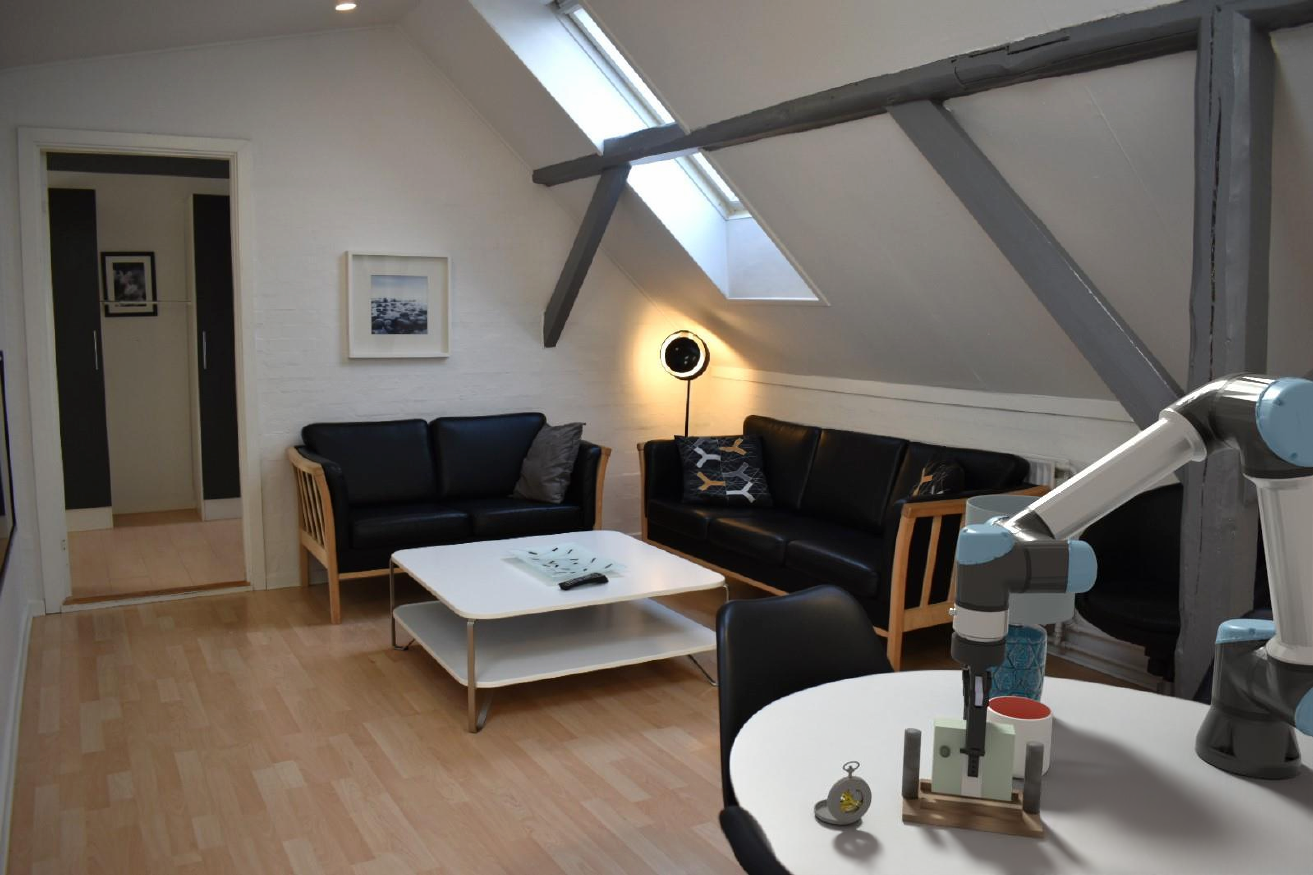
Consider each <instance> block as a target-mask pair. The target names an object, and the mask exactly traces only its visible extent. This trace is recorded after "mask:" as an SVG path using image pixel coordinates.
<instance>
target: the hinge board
mask: <svg viewBox="0 0 1313 875" xmlns="http://www.w3.org/2000/svg"><path fill="white" fill-rule="evenodd" d="M903 736H904V738H903V739H904V740H903V756H902V757H903V758H902V776H901V777H902V780H901V782H902V783H901V796H902V807H901V809H902V815H901V816H902V817H901V821H902V822H909V823H910V822H911V823H917V824H918V823H919V824H928V825H934V826H942V827H951V828H958V829H965V830H974V831H975V830H976V831H982V832H991V833H998V834H1006V835H1012V836H1013V835H1015V836H1022V837H1031V838H1037V839H1043V836H1044V834H1043V833H1044V831H1043V826H1042V822H1041V817H1040V811H1041V798H1042V797H1041V796H1042V795H1041V794H1042V783H1043V782H1042V780H1043V775H1042V769H1043V754H1044V745H1043V744H1042V743H1040V742H1037V741H1028V742H1027V743H1026V756H1025V771H1024V779H1023V788H1022V790H1023V791H1022V790H1018V789H1013V788H1012V793H1011V801H1006V800H997V799H989V798H979V797H971V796H963V795H956V794H947V793H939V792H932V785H931V779H928V778H920V767H921V766H920V765H921V751H922V750H921V746H922V730H920V729H918V728H913V727H910V728H905V729H904V735H903Z"/></svg>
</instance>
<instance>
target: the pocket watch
mask: <svg viewBox="0 0 1313 875" xmlns="http://www.w3.org/2000/svg"><path fill="white" fill-rule="evenodd" d="M853 763H855V764H857V766H856V767H853V766H852V765H849V764H853ZM847 765H848V768H845V767H847ZM860 766H861V765H860V762H858V761H856V760H851V761H848V762H846V763H844V765H843V766H842V770H843V771H846V772H847V775H846V776H844V777H842V778H840V779H839V780H837V781H836V782H835V783H833V785H832V787H831V788H830V789H829V791H828V795H827V798H826V799H822V800H819V801H817V802H816V803H815V804H814V806H813V813H814V815H815V816H816V817H817V818H818V819H820V820H821V821H822V822H823V821H824V822H826V823H828V824H832V825H841V826H842V825H849V824H854V823H855V822H856V821H859V820H860V819H862V817H864V816H865V815H866V813H867V812H868V810H869V809H870V807H871V804H872V799H873V797H872V796H873V795H872V794H873V793H872V790H871V788H870V786H869V783H867V781H866V780H865V779H863V778H862V777H861V776H857V775H853V773H854V772H855V771H856V770H857V769H858V768H859V767H860Z"/></svg>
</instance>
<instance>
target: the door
mask: <svg viewBox="0 0 1313 875" xmlns="http://www.w3.org/2000/svg"><path fill="white" fill-rule="evenodd" d="M933 727H934V729H933V744H932V762H931V779H930V780H931V785H932V792H939V793H947V794H956V795H961V784H962V767H963V754H962V753H960V748H965V739H966V720H963V719H960V718H959V719H958V718H949V717H941V716H934V724H933ZM1014 746H1015V731H1014V727H1013V725H1008V724H999V723H989V722H986V735H985V756H984V757H983V769H982V785H981V798H989V799H997V800H1006V801H1011V793H1012V789H1013V778H1014V777H1013V762H1014Z"/></svg>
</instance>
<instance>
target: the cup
mask: <svg viewBox="0 0 1313 875" xmlns="http://www.w3.org/2000/svg"><path fill="white" fill-rule="evenodd" d="M1053 716H1054V713H1053V710H1052V708H1051V707H1049V706H1048V705H1046V704H1045V703H1043V702H1041V701H1040V702H1038V701H1035V700H1032V699H1028V698H1023V697H1014V696H1002V697H996V698H992V699H990V700H989V707H988V708H987V720H986V722H989V723H999V724H1008V725H1013V727H1014V731H1015V746H1014V762H1013V777H1012V778H1015V779H1023V780H1024V771H1025V756H1026V743H1027V742H1028V741H1037V742H1040V743H1042V744H1043V745H1044V754H1043V769H1042V776H1043V775H1044V774H1046V773H1047V771H1048V770H1049V768H1050V760H1051V744H1052V730H1053Z"/></svg>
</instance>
